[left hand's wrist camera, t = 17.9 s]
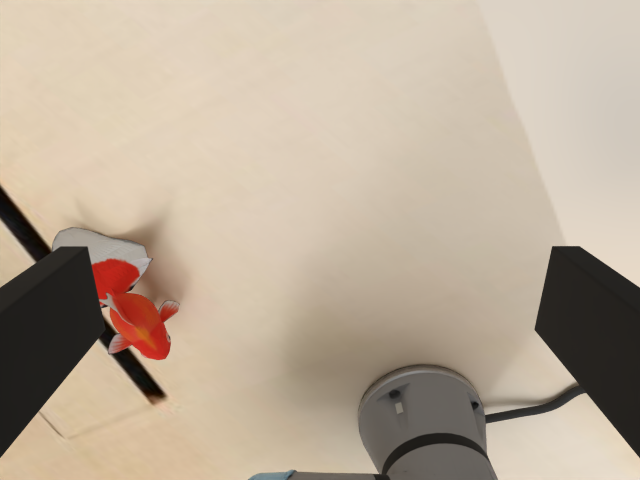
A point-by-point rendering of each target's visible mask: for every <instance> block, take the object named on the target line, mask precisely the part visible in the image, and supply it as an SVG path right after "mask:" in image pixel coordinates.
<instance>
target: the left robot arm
mask: <svg viewBox="0 0 640 480" xmlns="http://www.w3.org/2000/svg"><path fill="white" fill-rule="evenodd" d="M104 331H105V325H104V320H103V316H102V311H101V306H100V302H99V297H98V292H97V288H96V283H95V278H94V274H93V269H92V264H91V260H90V255H89V250H88V246H60V247H59V248H57V249H56V250H54V251H53V252H52V253H50V254H49V255H47V256H46V257H44V258H43V259H41V260H40V261H38V262H37V263H36V264H34V265H33V266H31V267H30V268H28V269H27V270H25V271H24V272H22V273H21V274H19V275H18V276H17V277H15V278H14V279H12V280H11V281H9V282H8V283H6V284H5V285H3V286H2V287H1V288H0V458H1V456H2V455H3V454H4V453H5V451H6V450H7V449H8V448H9V447H10V445H11V444H12V443H13V442H14V440H15V439H16V438H17V437H18V436H19V434H20V433H21V432H22V431H23V430H24V428H25V427H26V426H27V425H28V423H29V422H30V421H31V420H32V419H33V417H34V416H35V415H36V414H37V412H38V411H39V410H40V409H41V408H42V406H43V405H44V404H45V403H46V401H47V400H48V399H49V398H50V397H51V395H52V394H53V393H54V392H55V391H56V389H57V388H58V387H59V386H60V384H61V383H62V382H63V381H64V380H65V378H66V377H67V376H68V375H69V373H70V372H71V371H72V370H73V369H74V367H75V366H76V365H77V364H78V362H79V361H80V360H81V359H82V358H83V356H84V355H85V354H86V353H87V352H88V350H89V349H90V348H91V347H92V345H93V344H94V343H95V342H96V341H97V339H98V338H99V337H100V336H101V334H102V333H103V332H104ZM535 331H536V332H537V333H538V334H539V336H540V337H541V338H542V339H543V341H544V342H545V343H546V344H547V345H548V347H549V348H550V349H551V350H552V352H553V353H554V354H555V355H556V356H557V358H558V359H559V360H560V361H561V362H562V364H563V365H564V366H565V367H566V369H567V370H568V371H569V372H570V373H571V375H572V376H573V377H574V378H575V380H576V381H577V382H578V383H579V384H580V386H577V387H574V388H572V389H571V390H569V391H567V392H566V393H564V394H563V395H562V396H560V397H559V398H557V399H555V400H554V401H552V402H549V403H546V404H543V405H539V406H534V407H528V408H521V409H515V410H510V411H505V412H499V413H494V414H488V415H485V414H484V410H483V406H482V403H481V401H480V399H479V396H478V394H477V392H476V390H475V389H474V387H473V386H472V385H471V383H470V382H469V381H468V380H467V379H465V378H464V377H463V376H461V375H460V374H458V373H456V372H454V371H452V370H449V369H447V368H443V367H439V366H432V365H416V366H409V367H405V368H401V369H398V370H396V371H393V372H391V373H389V374H387V375H385V376H384V377H382V378H380V379H379V380H378V381H376V382H375V383H374V384H373V385H372V386H371V387H370V388H369V389H368V391H367V392H366V393H365V395H364V397H363V398H362V401H361V403H360V406H359V410H358V424H359V432H360V436H361V439H362V442H363V444H364V446H365V448H366V450H367V452H368V454H369V456H370V458H371V459H372V461H373V463H374V465H375V467H376V469H377V471H378V472H379V474H355V473H313V472H297V471H295V470H290V471H288V472H278V473H259V474H256V475H254V476H252V477H251V478H249V479H248V480H498V479H497V476H496V474H495V472H494V470H493V467H492V465H491V463H490V461H489V458H488V456H487V446H486V423H491V422H497V421H502V420H507V419H513V418H518V417H523V416H530V415H536V414H541V413H545V412H549V411H552V410H554V409H557V408H559V407H561V406H562V405H564V404H565V403H567V402H568V401H570V400H571V399H573V398H574V397H576V396H578V395H580V394H583V393H587V394H588V395H589V397H590V398H591V399H592V400H593V401H594V403H595V404H596V405H597V406H598V408H599V409H600V410H601V411H602V412H603V414H604V415H605V416H606V417H607V419H608V420H609V421H610V422H611V423H612V425H613V426H614V427H615V428H616V430H617V431H618V432H619V433H620V434H621V436H622V437H623V438H624V439H625V440H626V442H627V443H628V444H629V445H630V447H631V448H632V449H633V450H634V451H635V453H636V454H637V455H638V456H639V458H640V288H639V287H638V286H636V285H635V284H634V283H632V282H631V281H629V280H628V279H626V278H625V277H623V276H622V275H620V274H619V273H618V272H616V271H615V270H613V269H612V268H610V267H609V266H607V265H606V264H604V263H603V262H602V261H600V260H599V259H597V258H596V257H594V256H593V255H591V254H590V253H588V252H587V251H586V250H584V249H583V248H581V247H580V246H552V250H551V255H550V260H549V264H548V269H547V274H546V278H545V283H544V288H543V292H542V297H541V302H540V306H539V311H538V316H537V320H536V325H535Z"/></svg>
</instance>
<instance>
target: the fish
mask: <svg viewBox="0 0 640 480" xmlns="http://www.w3.org/2000/svg"><path fill="white" fill-rule="evenodd" d="M60 246H88V250H89V255H90V260H91V264H92V269H93V274H94V278H95V283H96V288H97V292H98V297H99V302H100V306H101V308H104V307H107V306H109V307H110V317H111V320H112V323H113V325H114V326H115V328H116V329H117V331H118V332H119V333H118V334H116V335H115V336H114V337H113V339H112V341H111V343H110V346H109V349H108V354H113V353H117V352H119V351H121V350H123V349H126V348H128V347H129V346H131V345H133V346H134V347H135V348H137V349H138V350H139V351H140V352H141V354H142V356H143V357H145V358H150V359H155V360H162V359H165V358H166V357H167V355H168V354H169V351H170V345H171V341H170V336H169V335H168V333H167V331H166V328H165V325H164V323H163V322H165V321H166V320H167V319H169V318H170V317H171V316H173V315H174V314H175V313H177V312H178V307H179V303H177V302H175V301H169V300H167V301H165V302H164V303H163V304H162V306H161V307H160V309H159V310H157V309H156V307H155V306H154V305H153V303H152V302H151V301H150V300H148V299H147V298H145V297H144V296H142V295H138V294H133V293H126V292H128V291H131V290H132V289H133V287H134V286H135V284H136V283H137V281H138V280H139V279H140V277H141V276H142V274H143V273H144V272H145V270H146V269H147V267H148V265H149V264H150V262H151V261H152V260H153V258H148V256H147V253H146V250H145V247H144V246H143V245H141V244H138V243H136V242H133V241H130V240H123V239H116V238H110V237H106V236H104V235H102V234H99V233H96V232H93V231H89V230H85V229H81V228H75V227H71V228H68V229H65V230H62V231H59V233H58V234H57V235H56V237H55V239H54V241H53V245H52V252H53V251H54V250H56V249H57V248H59V247H60Z"/></svg>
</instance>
